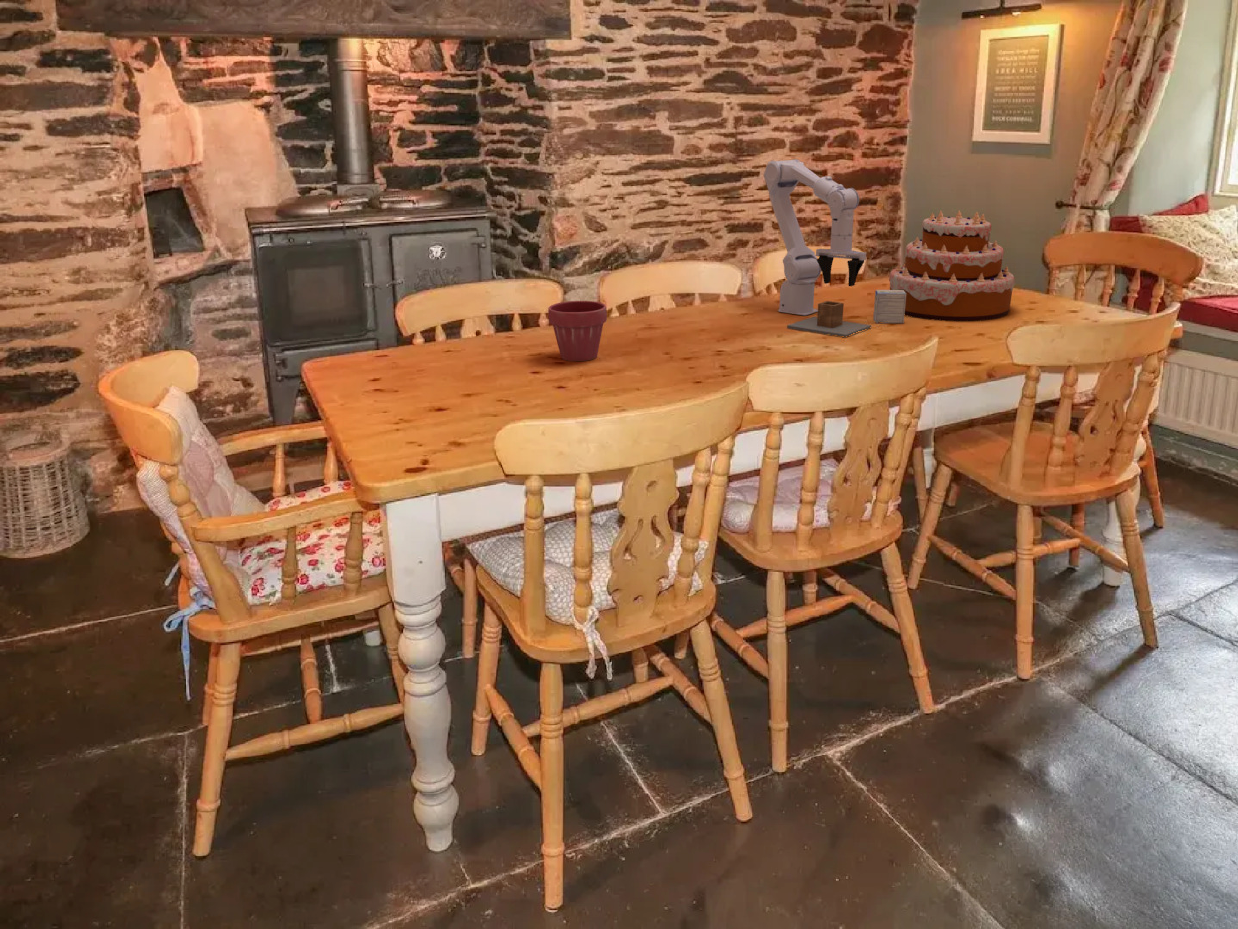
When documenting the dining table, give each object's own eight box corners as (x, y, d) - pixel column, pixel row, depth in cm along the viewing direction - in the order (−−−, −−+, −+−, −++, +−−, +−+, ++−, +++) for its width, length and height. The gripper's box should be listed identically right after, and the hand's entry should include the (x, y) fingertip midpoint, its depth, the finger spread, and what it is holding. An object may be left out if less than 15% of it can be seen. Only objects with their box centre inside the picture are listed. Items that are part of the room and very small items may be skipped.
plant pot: (540, 361, 246) (538, 309, 242) (563, 348, 259) (562, 298, 254) (594, 366, 242) (593, 313, 237) (615, 352, 254) (614, 302, 249)
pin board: (787, 328, 276) (787, 313, 274) (813, 319, 286) (814, 305, 284) (845, 337, 265) (846, 322, 263) (871, 328, 275) (872, 313, 273)
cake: (987, 296, 313) (998, 205, 303) (1029, 321, 280) (1042, 219, 270) (875, 297, 313) (882, 206, 304) (903, 322, 281) (912, 221, 271)
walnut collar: (816, 325, 275) (818, 303, 273) (826, 322, 278) (827, 300, 276) (833, 328, 272) (834, 306, 270) (842, 324, 275) (843, 303, 273)
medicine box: (901, 320, 283) (904, 289, 280) (903, 323, 279) (906, 292, 276) (872, 320, 284) (875, 289, 281) (875, 323, 280) (877, 292, 277)
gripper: (811, 234, 276) (809, 283, 281) (858, 238, 267) (855, 289, 272) (824, 231, 281) (821, 280, 286) (871, 235, 272) (868, 285, 277)
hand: (839, 284), depth 279 cm, fingers open, 7 cm apart
